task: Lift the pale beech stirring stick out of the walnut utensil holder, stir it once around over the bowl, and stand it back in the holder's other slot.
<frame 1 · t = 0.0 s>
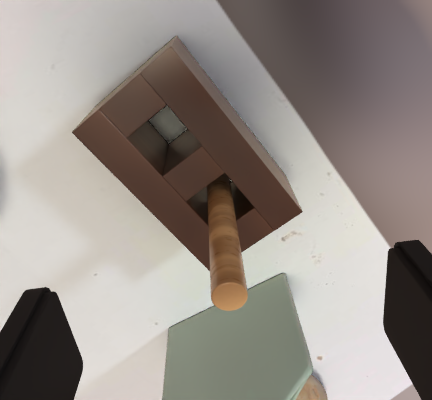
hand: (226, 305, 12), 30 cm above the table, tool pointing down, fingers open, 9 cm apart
planter: (239, 320, 52), on the table
stirring stick: (217, 168, 42), resting in holder
stone: (298, 384, 58), on the table
holder: (194, 142, 41), on the table
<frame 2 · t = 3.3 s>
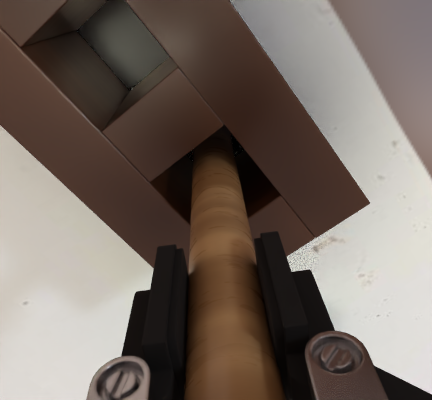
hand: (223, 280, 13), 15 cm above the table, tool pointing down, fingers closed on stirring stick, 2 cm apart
stirring stick: (211, 134, 26), resting in holder, touching gripper
holder: (173, 88, 24), on the table
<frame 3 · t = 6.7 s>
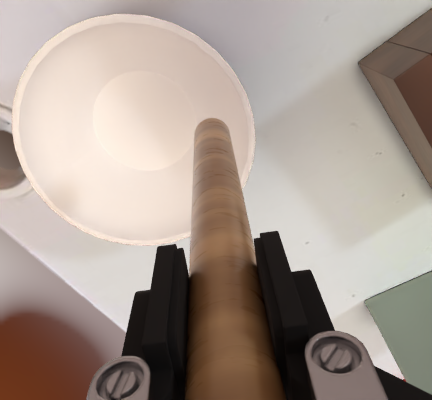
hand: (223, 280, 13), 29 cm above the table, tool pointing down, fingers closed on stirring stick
bowl: (146, 120, 40), on the table
stirring stick: (212, 134, 26), point 14 cm above the table, touching gripper
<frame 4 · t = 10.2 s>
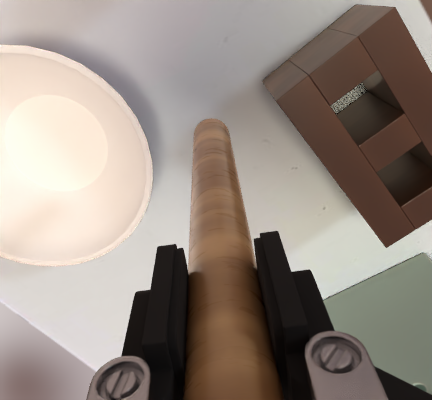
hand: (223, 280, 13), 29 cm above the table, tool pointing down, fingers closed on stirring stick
bowl: (59, 142, 41), on the table
planter: (371, 303, 51), on the table
stirring stick: (211, 135, 26), point 14 cm above the table, touching gripper
holder: (356, 117, 40), on the table
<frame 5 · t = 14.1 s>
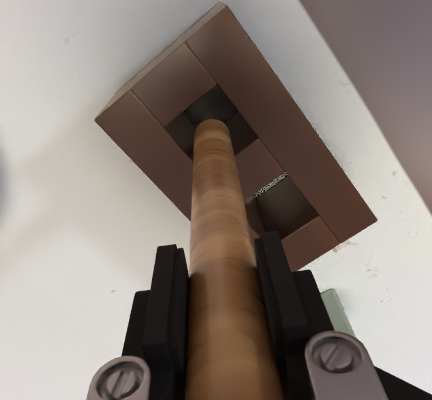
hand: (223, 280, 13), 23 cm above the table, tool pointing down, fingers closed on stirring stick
planter: (278, 342, 45), on the table
stirring stick: (211, 135, 26), point 8 cm above the table, touching gripper
holder: (236, 135, 34), on the table
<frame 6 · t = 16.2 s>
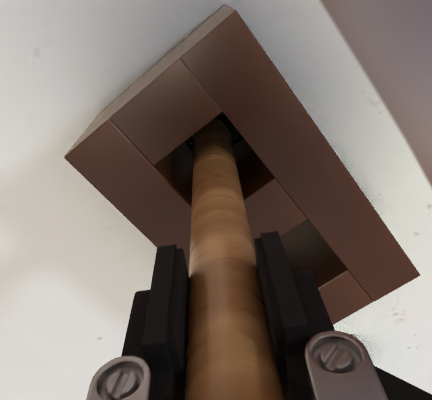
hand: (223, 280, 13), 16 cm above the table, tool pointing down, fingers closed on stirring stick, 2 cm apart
stirring stick: (211, 135, 26), point 2 cm above the table, touching gripper
holder: (243, 164, 29), on the table
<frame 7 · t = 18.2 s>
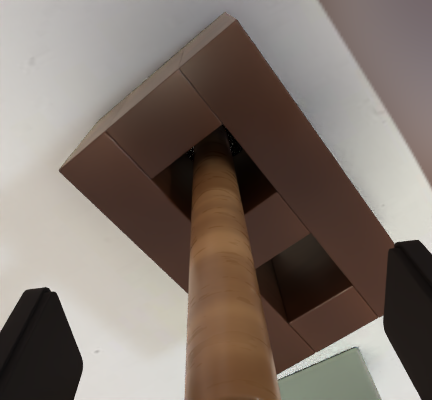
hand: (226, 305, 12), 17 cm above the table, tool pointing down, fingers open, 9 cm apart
stirring stick: (211, 138, 27), resting in holder
holder: (244, 174, 28), on the table
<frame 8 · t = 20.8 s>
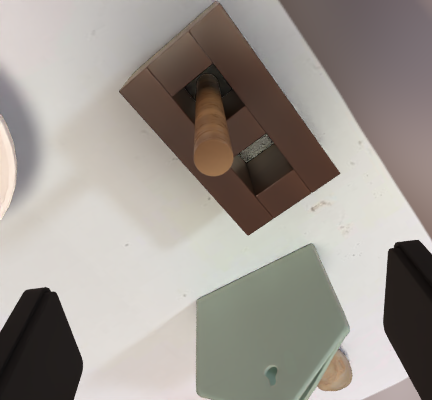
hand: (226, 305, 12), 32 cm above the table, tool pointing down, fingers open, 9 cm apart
planter: (266, 292, 53), on the table
stirring stick: (207, 85, 41), resting in holder
stone: (323, 358, 58), on the table
holder: (229, 110, 42), on the table
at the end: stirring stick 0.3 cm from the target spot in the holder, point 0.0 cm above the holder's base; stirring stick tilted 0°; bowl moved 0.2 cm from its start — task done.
